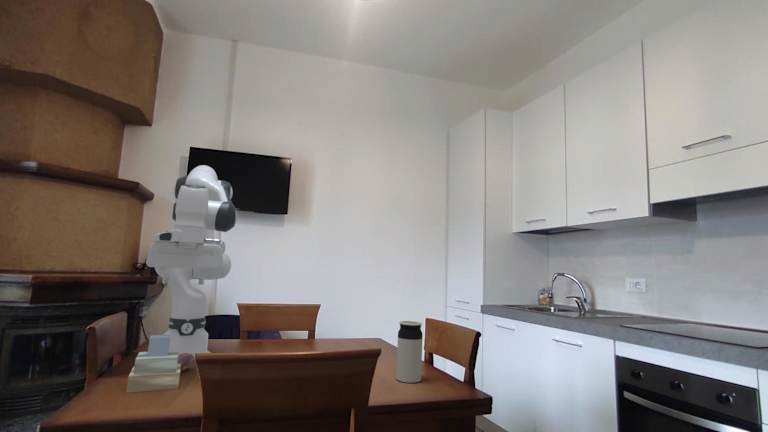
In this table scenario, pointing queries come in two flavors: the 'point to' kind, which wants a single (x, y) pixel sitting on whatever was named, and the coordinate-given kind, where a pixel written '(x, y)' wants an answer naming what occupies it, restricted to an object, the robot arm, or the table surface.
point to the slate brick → (159, 345)
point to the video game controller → (185, 360)
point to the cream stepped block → (154, 373)
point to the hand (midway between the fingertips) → (183, 284)
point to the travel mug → (409, 352)
